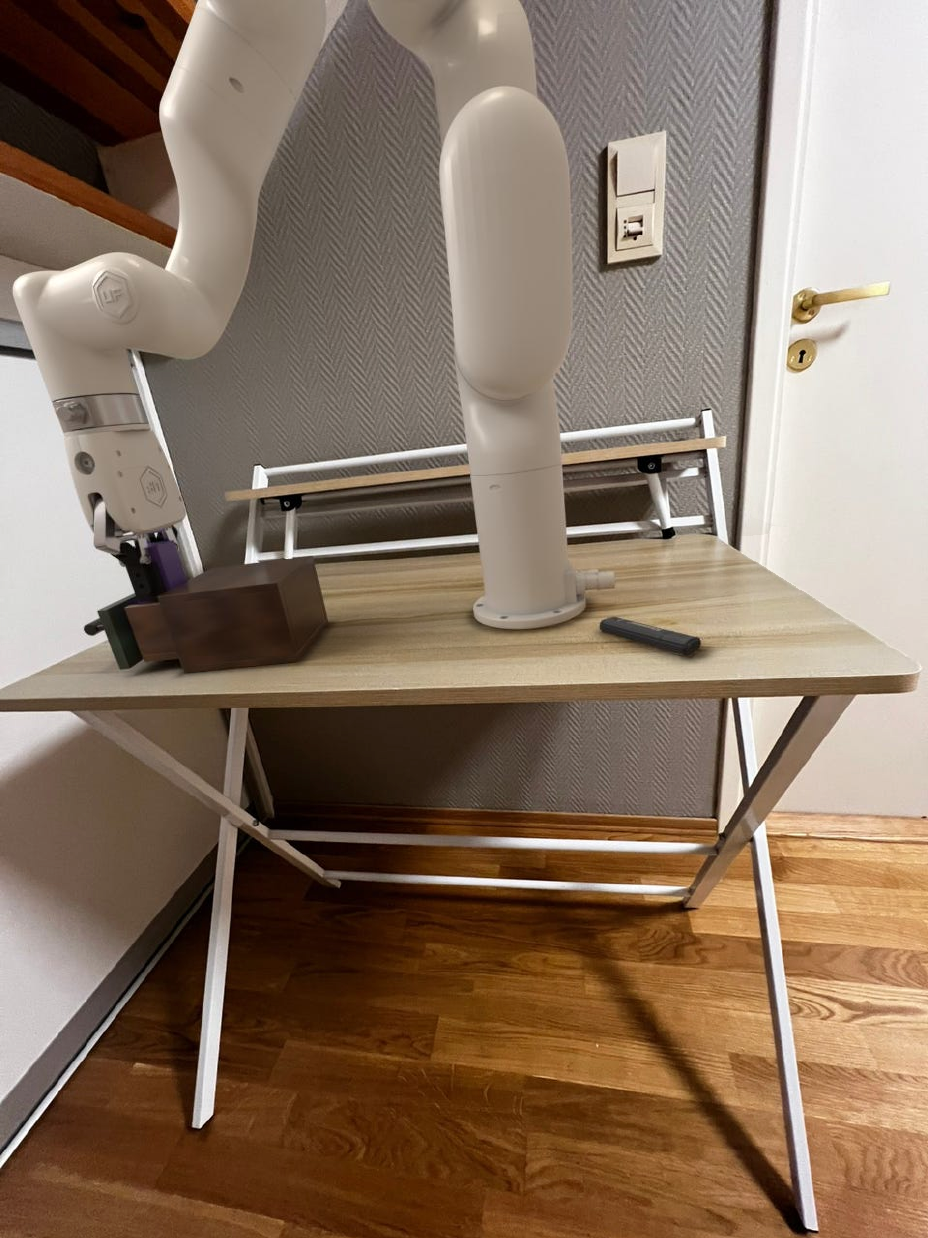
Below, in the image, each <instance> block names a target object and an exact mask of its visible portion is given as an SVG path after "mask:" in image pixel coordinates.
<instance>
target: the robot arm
mask: <svg viewBox="0 0 928 1238" xmlns="http://www.w3.org/2000/svg"><path fill="white" fill-rule="evenodd" d="M326 3H327V2H326V0H197V2H196V4H195V7H194V10H193V11H194V12H193V14H192V16H191V20H190V22H189V25H188V27H187V30H186V34H185V36H184V39H183V41H182V44H181V47H180V49H179V52H178V55H177V58H176V60H175V64H174V66H173V68H172V71H171V74H170V77H169V78H168V82H167V84H166V87H165V90H164V92H163V93H162V94H163V95H162V97H161V100H160V102H159V112H158V114H159V117H158V118H159V125H160V128H161V132H162V137H163V142H164V145H165V148H166V152H167V155H168V159H169V162H170V166H171V169H172V172H173V175H174V178H175V182H176V187H177V188H176V189H177V193H178V194H177V195H178V204H179V206H178V207H179V216H178V218H179V219H178V226H177V232H176V236H175V241H174V244H173V246H172V250H171V253H170V255H169V258H168V260H167V263H166V265H165V268H163V267H161V266H159V265H158V264H155V263H153V262H152V261H149V260H148V259H146V258H144V257H141V256H139V255H136V254H134V253H131V252H130V253H129V252H122V251H117V252H116V251H115V252H109V253H104V254H100V255H98V256H95V257H93V258H90V259H88V260H86V261H84V262H81V263H79V264H77V265H75V266H72V267H69V268H66V269H63V270H40V271H33V272H32V271H31V272H28V273H25V274H23V275H20V276H19V277H17V279H15V280H14V282H13V285H12V296H13V300H14V304H15V306H16V309H17V311H18V315H19V317H20V320H21V322H22V325H23V328H24V330H25V333H26V336H27V338H28V342H29V345H30V347H31V349H32V352H33V355H34V358H35V361H36V362H37V366H38V368H39V371H40V374H41V376H42V379H43V383H44V385H45V388H46V390H47V394H48V396H49V398H50V401H51V403H52V406H53V409H54V411H55V415H56V417H57V420H58V422H59V426H60V428H61V430H62V433H63V436H64V446H65V447H64V448H65V452H66V457H67V463H68V466H69V471H70V474H71V479H72V481H73V485H74V489H75V492H76V495H77V499H78V501H79V504H80V507H81V509H82V513H83V515H84V517H85V520H86V522H87V524H88V527H89V528H90V531H91V532H92V534H93V547H94V548H95V549H96V550H98V551H101V552H103V553H107V554H110V555H111V556H112V557H114V558H115V559H116V560H117V561H118V564H119V565H120V566H121V567H122V568H125V570H126V573H127V576H128V578H129V581H130V584H131V587H132V590H133V593H135V595H136V598H137V600H138V601H140V602H143V601H152V600H158V596H160V595H162V594H163V593H165V592H166V589H165V586H164V583H163V580H162V577H161V574H160V571H159V568H158V565H157V562H151V557H150V553H149V549H148V545H147V543H154V542H161V541H169V540H174V542H175V545H176V549H177V552H178V553H179V551H180V546H179V543H178V541H177V540H178V534H179V531H180V528H181V526H182V524H183V521H184V519H185V518H186V516H187V510H186V506H185V504H184V500H183V497H182V495H181V492H180V489H179V486H178V483H177V481H176V478H175V475H174V473H173V470H172V468H171V465H170V463H169V460H168V457H167V456H166V454H165V452H164V448H163V447H162V445H161V443H160V440H159V439H158V437H157V435H156V434H155V432H154V430H152V429H151V425H150V422H149V420H148V419H149V418H148V416H147V413H146V409H145V407H144V403H143V400H142V397H141V393H140V389H139V387H138V383H137V381H136V377H135V374H134V371H133V368H132V365H131V364H132V363H131V361H130V359H129V355H128V352H127V350H133V351H138V352H144V353H151V354H158V355H162V356H164V357H165V356H166V357H170V358H174V359H179V360H194V359H195V360H196V359H197V358H200V357H203V356H205V355H206V354H208V353H209V352H210V351H212V349H213V348H214V347H215V346H216V344H218V342H219V340H221V337H222V335H223V334H224V332H225V330H226V328H227V326H228V323H229V322H230V319H231V317H232V314H233V312H234V310H235V309H236V306H237V303H238V301H239V299H240V297H241V295H242V292H243V289H244V286H245V283H246V281H247V277H248V273H249V270H250V264H251V259H252V258H251V257H252V252H253V248H254V247H253V246H254V240H255V234H256V228H257V221H258V211H259V209H258V208H259V197H260V193H261V190H262V187H263V183H264V182H265V179H266V177H267V174H268V171H269V169H270V166H271V165H272V162H273V160H274V158H275V155H276V152H277V150H278V148H279V146H280V143H281V141H282V138H283V136H284V134H285V131H286V129H287V128H288V124H289V123H290V120H291V118H292V115H293V113H294V112H295V111H294V110H295V109H296V106H297V105H298V102H299V100H300V98H301V96H302V93H303V91H304V88H305V86H306V84H307V81H308V79H309V76H310V74H311V72H312V70H313V68H314V66H315V63H316V60H317V58H318V55H319V53H320V50H321V47H322V44H323V41H324V37H325V33H326V24H327V5H326ZM367 3H368V5H369V7H370V9H371V11H372V13H373V15H374V16H375V18H376V19H377V21H378V22H379V24H380V25H381V26H382V27H383V29H384V30H385V31H386V33H388V34H389V35H390V37H391V38H393V39H394V40H395V41H396V42H397V43H398V44H400V45H401V46H403V47H404V48H405V49H407V50H408V51H409V52H411V53H413V54H414V55H415V56H417V57H418V58H419V59H420V60H421V61H422V62H423V63H424V64H425V65H426V67H427V68H428V69H429V71H430V74H431V77H432V80H433V86H434V95H435V106H436V112H437V119H438V126H439V135H440V136H439V137H440V148H441V152H440V158H439V169H438V178H439V179H438V184H439V194H440V196H439V197H440V206H441V214H442V219H443V226H444V227H443V228H444V237H445V248H446V259H447V268H448V269H447V270H448V280H449V281H448V282H449V290H450V291H449V292H450V300H451V313H452V324H453V325H452V327H453V356H454V357H453V359H454V367H455V368H454V369H455V375H456V380H457V388H458V391H459V399H460V400H459V401H460V406H461V413H462V420H463V428H464V435H465V443H466V451H467V459H468V468H469V477H470V485H471V493H472V501H473V509H474V516H475V517H474V519H475V525H476V533H477V540H478V549H479V557H480V564H481V565H480V566H481V573H482V580H483V590H484V595H483V596H481V597H479V598H478V599H477V600H476V601H475V602H474V604H473V606H472V610H473V617H474V619H475V620H476V621H477V622H479V623H481V624H482V625H485V626H488V627H491V628H497V629H504V630H528V629H529V630H530V629H531V630H532V629H539V628H544V627H551V626H555V625H558V624H561V623H565V622H566V621H570V620H572V619H574V618H576V617H577V616H579V615H580V614H581V613H582V612H584V610H585V609H586V606H587V603H586V602H587V600H586V591H592V590H597V591H603V590H611V589H615V588H616V577H615V573H614V570H606V571H599V569H598V568H591V569H590V568H589V569H585V570H577V569H576V568H574V567H573V565H572V563H571V562H570V560H569V550H568V547H569V546H568V535H567V519H566V506H565V505H566V504H565V492H564V491H565V490H564V476H563V452H562V439H561V430H560V429H561V428H560V420H559V412H558V403H557V398H556V397H557V396H556V390H555V382H554V381H555V380H554V377H555V375H556V374H557V373H558V371H559V370H560V369H561V367H562V365H563V363H564V362H565V359H566V357H567V354H568V351H569V349H570V345H571V340H572V332H573V321H574V320H573V316H574V283H573V282H574V281H573V278H574V277H573V276H574V275H573V239H572V237H573V235H572V233H573V232H572V198H571V176H570V175H571V174H570V166H569V158H568V153H567V148H566V144H565V141H564V138H563V134H562V132H561V130H560V126H559V125H558V122H557V121H556V119H555V118H554V116H553V114H552V113H551V111H550V110H549V109H548V108H547V107H546V105H545V104H544V103H543V102H542V101H541V100H540V99H539V98H538V89H537V74H536V62H535V60H536V59H535V51H534V43H533V38H532V33H531V28H530V24H529V20H528V17H527V14H526V12H525V10H524V7H523V5H522V3H521V1H520V0H367ZM128 533H129V534H128ZM130 533H131V534H130ZM131 541H133V543H134V545H132V544H131V543H130V542H131ZM134 546H135V547H136V548H135V547H134Z"/></svg>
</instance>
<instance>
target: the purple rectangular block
mask: <svg viewBox="0 0 928 1238" xmlns="http://www.w3.org/2000/svg"><path fill="white" fill-rule="evenodd" d="M147 545H148V549H149V553H150V557H151V562H157V565H158V568H159V571H160V574H161V577H162V580H163V583H164V586H165V589H166V592H167V591H169V590H171V589H173V588H175V587H177V586H179V585H181V584H183V583H184V582H186V581H188V580H187V577H186V573H185V571H184V567H183V564H182V560H181V558H180V555H179V551H178V552H177V549H176V545H175V542H174V540H169V541H161V542H154V543H147ZM133 546H134V547H135V545H133ZM135 548H136V547H135ZM155 602H159V600H152V601H143V602H140V601H138V603H139V604H146V603H155Z"/></svg>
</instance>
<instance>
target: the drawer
mask: <svg viewBox="0 0 928 1238" xmlns="http://www.w3.org/2000/svg"><path fill="white" fill-rule="evenodd" d="M96 612H97V615H98V618H96V619H94V620H92V621H90V622H89V623H86V624H85V625H84V627H83V631H84V633H85V634H86V635H87V636H90V637H93V636H94V637H95V636H96V635H98V634H100V633H102V632H104V633H105V636H106V639H107V641H108V642H109V645H110V649H111V651H112V654H113V657H114V658H115V662H116V663H117V666H118V669H119V670H120V671H121V670H122V671H123V670H130V669H132V668H134V666H136V665H138V664H139V663H140V662H142V661H144V663H151V662H159V661H161V662H162V661H168V660H169V661H170V660H177V659H178V660H179V658H178V655H177V652H176V649H175V646H174V644H173V641H172V638H171V635H170V632H169V629H168V626H167V623H166V620H165V617H164V615H163V612H162V609H161V606H160V603H159V602H155V603H146V604H139V603H138V600H137V598H136V595H135V592H133V593H131V594H129V595H127V596H125V597H122V598H120V599H119V600H116V601H115V602H113V603H111V604H109V605H106V606H104V607H102V608H100V609H98V610H96Z"/></svg>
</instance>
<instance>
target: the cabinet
mask: <svg viewBox="0 0 928 1238" xmlns="http://www.w3.org/2000/svg"><path fill="white" fill-rule="evenodd" d="M314 558H315V557H314V555H309V556H308V555H307V556H301V557H300V556H299V557H291V558H283V559H276V560H267V561H260V562H259V561H257V562H250V563H249V562H248V563H242V564H235V565H233V564H232V565H226V566H215V567H211V568H209V569H207V570H206V571H204V572H201V573H199V574H198V575H196V576H194V577H192V578H190V579H189V580H187V581H186V582H184V583H183V584H181V585H179V586H177V587H175V588H173V589H171V590H169V591H167V592H165V593H163V594H162V595H160V596H158V600H159V603H160V606H161V609H162V612H163V615H164V617H165V620H166V623H167V626H168V629H169V632H170V635H171V638H172V641H173V644H174V646H175V649H176V652H177V655H178V658H179V659H178V660H179V663H180V664H179V665H180V667H181V669H182V672H183V674H190V673H201V672H209V671H219V670H228V669H239V668H249V667H259V666H268V665H278V664H287V663H298V662H299V661H300V659H302V657H303V656H304V655H305V654H306V653H307V651H308V650H309V649H310V647H311V646H312V645H313V643H314V642H315V641H316V640H317V639H318V638H319V636H320V635H321V634H322V633H323V631H324V630H325V629H326V628H327V626H328V625H329V624H330V622H329V618H328V613H327V610H326V606H325V601H324V597H323V591H322V589H321V584H320V579H319V575H318V570H317V567H316V563H315V559H314Z"/></svg>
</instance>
